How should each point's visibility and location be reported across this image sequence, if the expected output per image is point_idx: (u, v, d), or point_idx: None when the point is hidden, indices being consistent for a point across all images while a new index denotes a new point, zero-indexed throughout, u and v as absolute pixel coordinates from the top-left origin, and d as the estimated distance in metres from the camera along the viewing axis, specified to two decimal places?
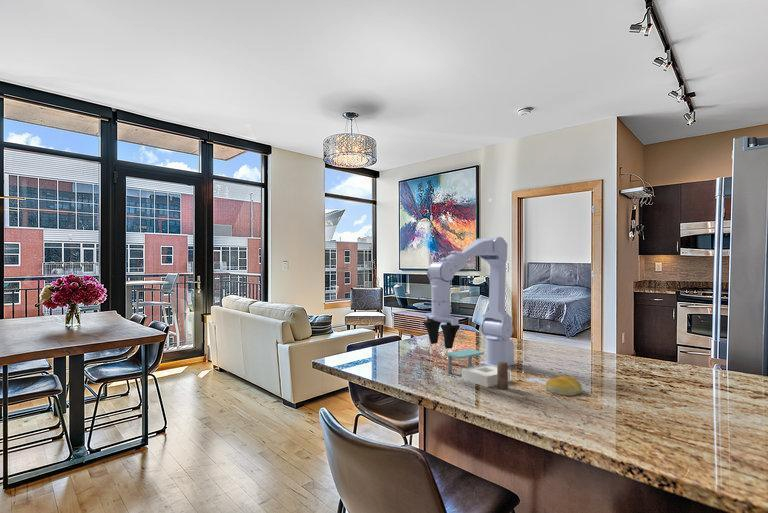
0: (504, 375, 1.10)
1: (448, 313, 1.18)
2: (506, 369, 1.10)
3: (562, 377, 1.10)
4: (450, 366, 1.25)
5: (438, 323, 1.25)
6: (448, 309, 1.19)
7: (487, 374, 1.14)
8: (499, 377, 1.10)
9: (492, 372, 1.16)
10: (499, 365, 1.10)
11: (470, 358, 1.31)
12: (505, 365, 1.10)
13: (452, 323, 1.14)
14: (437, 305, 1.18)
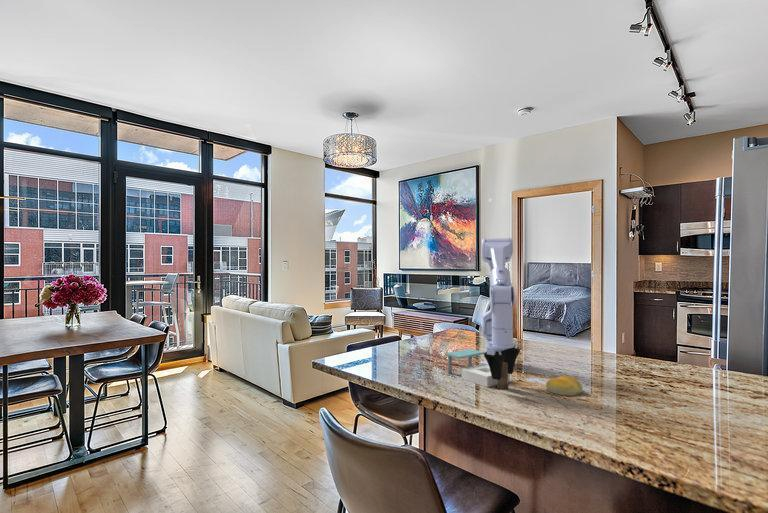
0: (504, 375, 1.10)
1: (500, 342, 1.09)
2: (506, 369, 1.10)
3: (562, 377, 1.10)
4: (450, 366, 1.25)
5: (513, 352, 1.13)
6: (500, 337, 1.09)
7: (487, 374, 1.14)
8: None
9: None
10: None
11: (470, 358, 1.31)
12: (505, 365, 1.10)
13: None
14: (491, 331, 1.12)
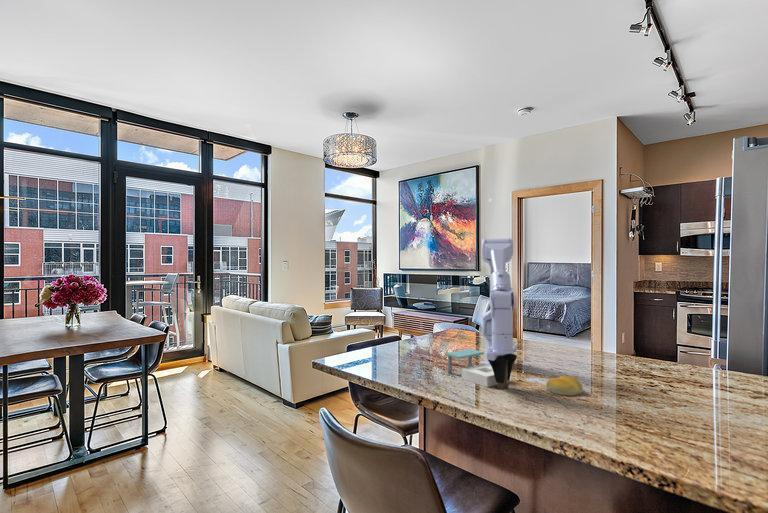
0: None
1: (500, 347, 1.09)
2: (506, 369, 1.10)
3: (563, 377, 1.10)
4: (450, 366, 1.25)
5: (510, 359, 1.11)
6: (500, 342, 1.09)
7: (487, 374, 1.14)
8: None
9: (492, 372, 1.16)
10: None
11: (470, 358, 1.31)
12: None
13: None
14: (491, 336, 1.12)
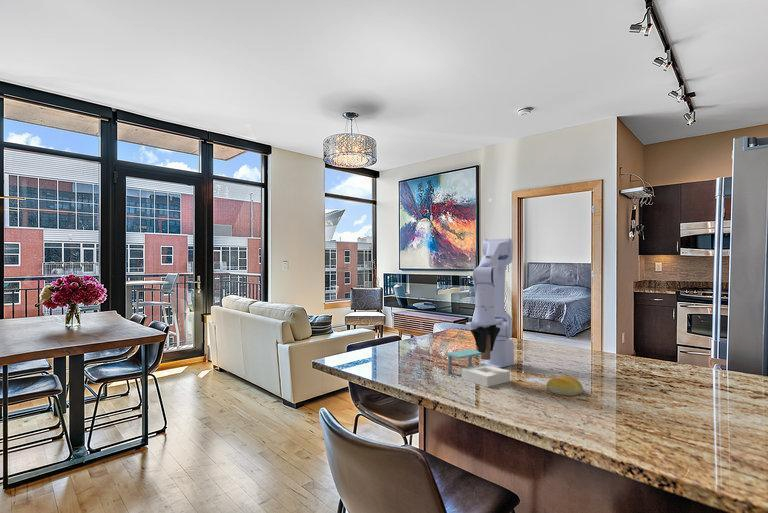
0: (486, 346, 1.18)
1: (481, 318, 1.17)
2: (488, 341, 1.18)
3: (563, 377, 1.10)
4: (450, 366, 1.25)
5: (493, 331, 1.19)
6: (481, 314, 1.17)
7: (487, 374, 1.14)
8: None
9: (492, 372, 1.16)
10: None
11: (470, 358, 1.31)
12: (487, 337, 1.18)
13: None
14: None
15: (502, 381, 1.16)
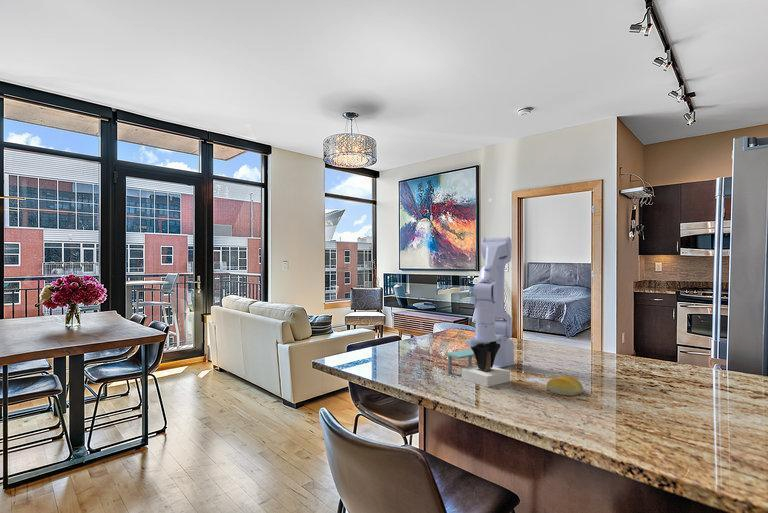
0: (486, 363, 1.17)
1: (481, 335, 1.17)
2: (488, 357, 1.18)
3: (563, 377, 1.10)
4: (450, 366, 1.25)
5: (493, 347, 1.19)
6: (481, 331, 1.17)
7: (487, 374, 1.14)
8: None
9: (492, 372, 1.16)
10: None
11: (470, 358, 1.31)
12: (487, 354, 1.17)
13: None
14: None
15: (502, 381, 1.16)
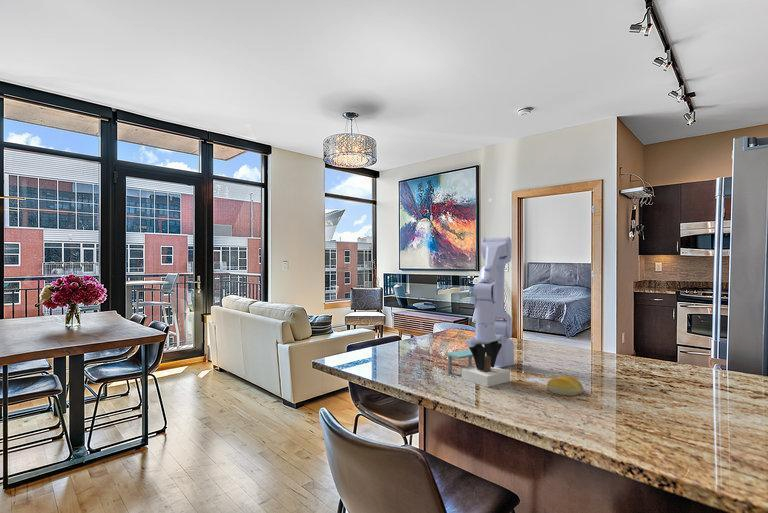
0: (486, 368, 1.17)
1: (481, 335, 1.17)
2: (488, 362, 1.18)
3: (563, 377, 1.10)
4: (450, 366, 1.25)
5: (494, 347, 1.19)
6: (481, 331, 1.17)
7: (487, 374, 1.14)
8: None
9: (492, 372, 1.16)
10: None
11: (470, 358, 1.31)
12: (487, 358, 1.17)
13: None
14: None
15: (502, 381, 1.16)
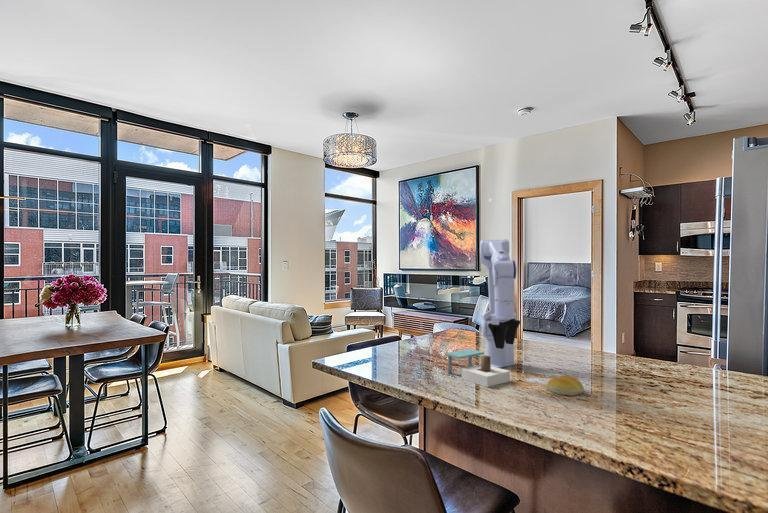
0: (486, 368, 1.18)
1: (503, 313, 1.16)
2: (488, 362, 1.18)
3: (563, 377, 1.10)
4: (450, 366, 1.25)
5: (514, 324, 1.20)
6: (503, 309, 1.16)
7: (487, 374, 1.14)
8: (481, 369, 1.18)
9: (492, 372, 1.16)
10: (481, 358, 1.18)
11: (470, 358, 1.31)
12: (487, 358, 1.18)
13: None
14: (494, 303, 1.18)
15: (502, 381, 1.16)
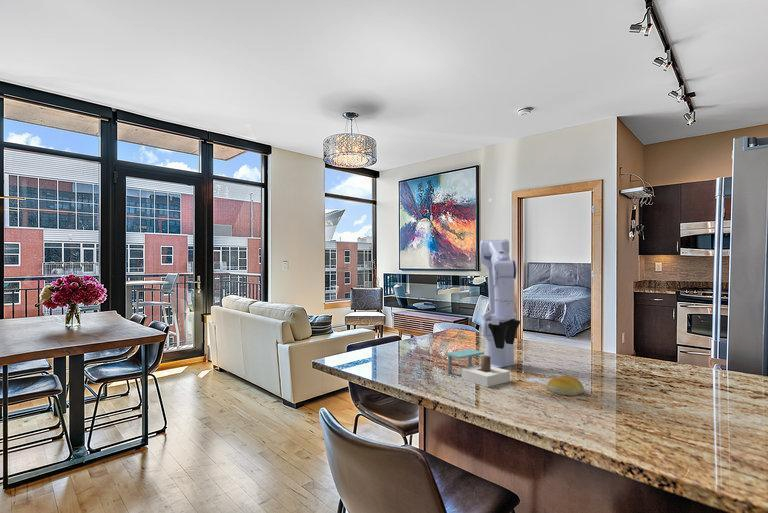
0: (486, 368, 1.18)
1: (503, 313, 1.16)
2: (488, 362, 1.18)
3: (564, 377, 1.10)
4: (450, 366, 1.25)
5: (514, 324, 1.20)
6: (503, 309, 1.16)
7: (487, 374, 1.14)
8: (481, 369, 1.18)
9: (492, 372, 1.16)
10: (481, 358, 1.18)
11: (470, 358, 1.31)
12: (487, 358, 1.18)
13: None
14: (494, 303, 1.18)
15: (502, 381, 1.16)
